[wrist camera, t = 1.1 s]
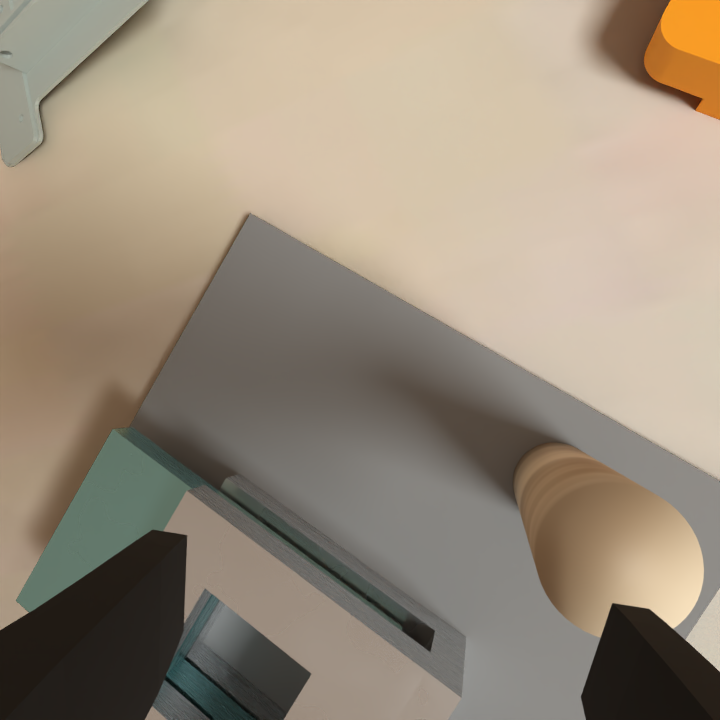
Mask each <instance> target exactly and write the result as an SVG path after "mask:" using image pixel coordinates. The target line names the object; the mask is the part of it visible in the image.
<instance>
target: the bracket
mask: <svg viewBox="0 0 720 720" xmlns="http://www.w3.org/2000/svg"><path fill="white" fill-rule="evenodd" d="M644 64H645V68H646V70H647V72H648V74H649V75H650V76H651V77H652V78H653V79H654V80H656V81H658V82H660V83H662V84H665V85H668V86H670V87H673V88H676V89H678V90H681V91H684V92H686V93H689V94H692V95H694V96H697V97H700V98H702V100H701V102H700V103H699V105H698V107H697V108H696V110H695V111H698V112H701V113H703V114H706V115H708V116H711V117H714V118H716V119H719V120H720V0H670V2H669V4H668V6H667V7H666V9H665V11H664V13H663V15H662V17H661V19H660V21H659V24H658V26H657V28H656V30H655V32H654V34H653V36H652V39H651V41H650V43H649V45H648V47H647V49H646V52H645V56H644Z"/></svg>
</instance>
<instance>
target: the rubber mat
mask: <svg viewBox="0 0 720 720" xmlns="http://www.w3.org/2000/svg"><path fill="white" fill-rule="evenodd" d="M129 427H133V428H135V429H136V430H137V431H139V432H140V433H141V434H143V435H144V436H146V437H147V438H148V439H150V440H151V441H152V442H154V443H155V444H156V445H158V446H159V447H160V448H162V449H163V450H164V451H166V452H167V453H168V454H170V455H171V456H173V457H174V458H175V459H177V460H178V461H179V462H181V463H182V464H183V465H185V466H186V467H187V468H189V469H190V470H191V471H193V472H194V473H195V474H197V475H198V476H200V477H201V478H202V479H204V480H205V481H206V482H208V483H209V484H210V485H212V486H213V487H214V488H216V489H217V490H218V491H219V489H220V488H221V486H222V484H223V483H224V481H225V479H226V478H228V477H231V476H234V475H237V474H241V475H243V476H244V477H245V478H247V479H248V480H250V481H251V482H252V483H254V484H255V485H257V486H258V487H259V488H261V489H262V490H263V491H265V492H266V493H268V494H269V495H270V496H272V497H273V498H275V499H276V500H277V501H279V502H280V503H281V504H283V505H284V506H286V507H287V508H288V509H290V510H291V511H293V512H294V513H295V514H297V515H298V516H299V517H301V518H302V519H304V520H305V521H306V522H308V523H309V524H311V525H312V526H313V527H315V528H316V529H317V530H319V531H320V532H322V533H323V534H324V535H326V536H327V537H329V538H330V539H331V540H333V541H334V542H336V543H337V544H338V545H340V546H341V547H342V548H344V549H345V550H347V551H348V552H349V553H351V554H352V555H354V556H355V557H356V558H358V559H359V560H360V561H362V562H363V563H365V564H366V565H367V566H369V567H370V568H372V569H373V570H374V571H376V572H377V573H378V574H380V575H381V576H383V577H384V578H385V579H387V580H388V581H390V582H391V583H392V584H394V585H395V586H396V587H398V588H399V589H401V590H402V591H403V592H405V593H406V594H408V595H409V596H410V597H412V598H413V599H414V600H416V601H417V602H419V603H420V604H421V605H423V606H424V607H426V608H427V609H428V610H430V611H431V612H432V613H434V614H435V615H437V616H438V617H439V618H441V619H442V620H444V621H445V622H446V623H448V624H449V625H450V626H452V627H453V628H455V629H456V630H457V631H459V632H460V633H462V634H463V635H464V636H466V649H465V661H464V674H463V687H462V698H461V700H460V701H459V703H458V705H457V706H456V708H455V709H454V711H453V712H452V714H451V715H450V717H449V719H448V720H586V718H585V714H584V709H583V705H582V700H581V695H582V692H583V689H584V686H585V683H586V680H587V677H588V674H589V671H590V668H591V665H592V662H593V659H594V656H595V653H596V650H597V647H598V644H599V641H600V637H597V636H594V635H592V634H590V633H587V632H585V631H583V630H582V629H580V628H578V627H577V626H575V625H574V624H572V623H571V622H570V621H569V620H567V619H566V618H565V617H564V616H563V615H562V614H561V613H560V612H559V611H558V610H557V609H556V608H555V606H554V605H553V604H552V603H551V601H550V600H549V598H548V596H547V595H546V593H545V591H544V589H543V587H542V585H541V582H540V579H539V576H538V573H537V569H536V566H535V563H534V559H533V556H532V552H531V549H530V545H529V542H528V539H527V535H526V532H525V528H524V525H523V522H522V518H521V515H520V511H519V508H518V504H517V501H516V498H515V494H514V490H513V475H514V471H515V468H516V465H517V464H518V462H519V460H520V459H521V457H522V456H523V455H524V454H525V453H526V452H528V451H529V450H530V449H532V448H534V447H536V446H538V445H541V444H545V443H563V444H568V445H570V446H573V447H575V448H577V449H579V450H581V451H582V452H584V453H586V454H587V455H589V456H591V457H593V458H594V459H596V460H598V461H599V462H601V463H603V464H605V465H606V466H608V467H610V468H611V469H613V470H615V471H617V472H618V473H620V474H622V475H623V476H625V477H627V478H629V479H630V480H632V481H634V482H635V483H637V484H639V485H641V486H642V487H644V488H646V489H647V490H649V491H651V492H653V493H654V494H656V495H658V496H659V497H661V498H662V499H664V500H665V501H667V502H668V503H669V504H671V505H672V506H673V507H674V508H675V509H676V510H678V512H679V513H680V514H681V515H682V516H683V517H684V518H685V519H686V521H687V522H688V524H689V525H690V527H691V528H692V530H693V532H694V534H695V535H696V537H697V540H698V542H699V545H700V548H701V552H702V556H703V564H704V578H703V584H702V589H701V592H700V595H699V598H698V600H697V602H696V604H695V606H694V608H693V609H692V611H691V612H690V613H689V615H688V616H687V617H686V618H685V619H684V620H683V621H682V622H681V623H680V624H679V625H678V626H676V627H675V628H673V629H674V630H675V631H676V632H677V633H678V634H679V635H680V636H681V637H683V638H684V639H686V638H687V636H688V635H689V633H690V632H691V630H692V629H693V627H694V626H695V624H696V623H697V621H698V620H699V618H700V617H701V615H702V614H703V612H704V611H705V609H706V608H707V606H708V605H709V603H710V602H711V600H712V599H713V597H714V596H715V594H716V593H717V591H718V590H719V588H720V481H718V480H717V479H715V478H713V477H711V476H710V475H708V474H706V473H704V472H703V471H701V470H699V469H697V468H696V467H694V466H692V465H690V464H689V463H687V462H685V461H683V460H682V459H680V458H678V457H676V456H675V455H673V454H671V453H669V452H668V451H666V450H664V449H662V448H661V447H659V446H657V445H655V444H654V443H652V442H650V441H648V440H647V439H645V438H643V437H641V436H640V435H638V434H636V433H634V432H633V431H631V430H629V429H627V428H626V427H624V426H622V425H620V424H619V423H617V422H615V421H613V420H612V419H610V418H608V417H606V416H605V415H603V414H601V413H599V412H598V411H596V410H594V409H592V408H591V407H589V406H587V405H585V404H584V403H582V402H580V401H578V400H577V399H575V398H573V397H571V396H570V395H568V394H566V393H564V392H563V391H561V390H559V389H557V388H556V387H554V386H552V385H550V384H548V383H547V382H545V381H543V380H541V379H540V378H538V377H536V376H534V375H533V374H531V373H529V372H527V371H526V370H524V369H522V368H520V367H519V366H517V365H515V364H513V363H512V362H510V361H508V360H506V359H505V358H503V357H501V356H499V355H498V354H496V353H494V352H492V351H491V350H489V349H487V348H485V347H484V346H482V345H480V344H478V343H477V342H475V341H473V340H471V339H470V338H468V337H466V336H464V335H463V334H461V333H459V332H457V331H456V330H454V329H452V328H450V327H449V326H447V325H445V324H443V323H442V322H440V321H438V320H436V319H435V318H433V317H431V316H429V315H428V314H426V313H424V312H422V311H421V310H419V309H417V308H415V307H414V306H412V305H410V304H408V303H407V302H405V301H403V300H401V299H400V298H398V297H396V296H394V295H393V294H391V293H389V292H387V291H386V290H384V289H382V288H380V287H379V286H377V285H375V284H373V283H372V282H370V281H368V280H366V279H365V278H363V277H361V276H359V275H358V274H356V273H354V272H352V271H351V270H349V269H347V268H345V267H344V266H342V265H340V264H338V263H337V262H335V261H333V260H331V259H330V258H328V257H326V256H324V255H323V254H321V253H319V252H317V251H316V250H314V249H312V248H310V247H309V246H307V245H305V244H303V243H302V242H300V241H298V240H296V239H295V238H293V237H291V236H289V235H288V234H286V233H284V232H282V231H281V230H279V229H277V228H275V227H274V226H272V225H270V224H268V223H266V222H265V221H263V220H261V219H259V218H258V217H256V216H254V215H252V214H251V213H250V215H249V216H248V218H247V220H246V222H245V224H244V225H243V227H242V229H241V231H240V232H239V234H238V236H237V238H236V239H235V241H234V243H233V245H232V246H231V248H230V250H229V252H228V254H227V255H226V257H225V259H224V261H223V262H222V264H221V266H220V268H219V269H218V271H217V273H216V275H215V276H214V278H213V280H212V282H211V283H210V285H209V287H208V289H207V291H206V292H205V294H204V296H203V298H202V299H201V301H200V303H199V305H198V306H197V308H196V310H195V312H194V313H193V315H192V317H191V319H190V321H189V322H188V324H187V326H186V328H185V329H184V331H183V333H182V335H181V336H180V338H179V340H178V342H177V343H176V345H175V347H174V349H173V351H172V352H171V354H170V356H169V358H168V359H167V361H166V363H165V365H164V366H163V368H162V370H161V372H160V373H159V375H158V377H157V379H156V381H155V382H154V384H153V386H152V388H151V389H150V391H149V393H148V395H147V396H146V398H145V400H144V402H143V403H142V405H141V407H140V409H139V411H138V412H137V414H136V416H135V418H134V419H133V421H132V423H131V425H130V426H129ZM203 643H204V644H206V645H207V646H208V647H209V648H210V649H212V650H213V651H214V652H215V653H216V654H218V655H219V656H220V657H221V658H222V659H224V660H225V661H226V662H227V663H228V664H230V665H231V666H232V667H233V668H234V669H236V670H237V671H238V672H239V673H240V674H242V675H243V676H244V677H245V678H246V679H248V680H249V681H250V682H251V683H252V684H254V685H255V686H256V687H257V688H258V689H260V690H261V691H262V692H263V693H264V694H266V695H267V696H268V697H269V698H270V699H272V700H273V701H274V702H275V703H276V704H278V705H279V706H280V707H281V708H282V709H283V710H285V711H286V712H287V713H288V712H289V710H290V708H291V707H292V705H293V704H294V702H295V700H296V699H297V697H298V695H299V694H300V692H301V691H302V689H303V687H304V686H305V684H306V682H307V681H308V679H309V678H310V676H311V673H310V672H309V671H308V670H306V669H305V668H304V667H303V666H301V665H300V664H299V663H298V662H296V661H295V660H294V659H293V658H291V657H290V656H289V655H288V654H286V653H285V652H284V651H283V650H281V649H280V648H279V647H278V646H276V645H275V644H274V643H273V642H271V641H270V640H269V639H268V638H266V637H265V636H264V635H263V634H261V633H260V632H259V631H258V630H256V629H255V628H254V627H253V626H251V625H250V624H249V623H248V622H247V621H245V620H244V619H243V618H242V617H240V616H239V615H238V614H237V613H235V612H234V611H233V610H232V609H230V608H229V607H228V606H227V605H225V606H224V607H223V609H222V611H221V612H220V614H219V616H218V617H217V619H216V621H215V622H214V624H213V626H212V628H211V629H210V631H209V633H208V634H207V636H206V638H205V639H204V641H203Z"/></svg>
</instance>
